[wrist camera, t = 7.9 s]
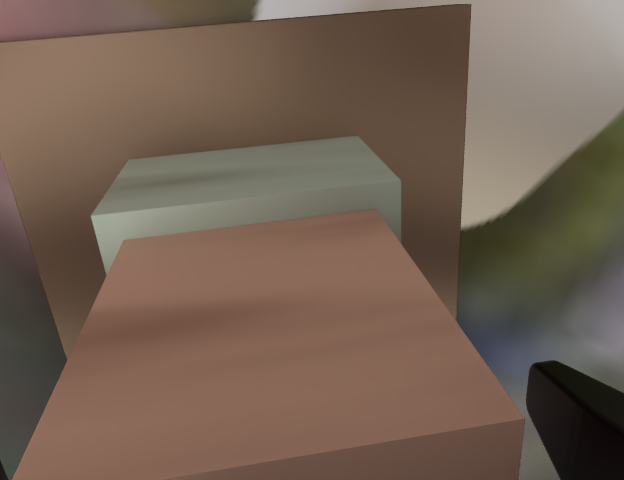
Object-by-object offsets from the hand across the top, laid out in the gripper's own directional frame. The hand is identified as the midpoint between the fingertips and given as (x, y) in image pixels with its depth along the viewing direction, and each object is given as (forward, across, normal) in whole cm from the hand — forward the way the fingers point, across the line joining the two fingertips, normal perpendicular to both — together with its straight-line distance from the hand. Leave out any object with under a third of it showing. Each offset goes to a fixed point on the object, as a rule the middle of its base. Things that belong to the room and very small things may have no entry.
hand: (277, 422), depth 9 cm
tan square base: (+8, 0, 0) cm, 8 cm away
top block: (+3, 0, 0) cm, 3 cm away
